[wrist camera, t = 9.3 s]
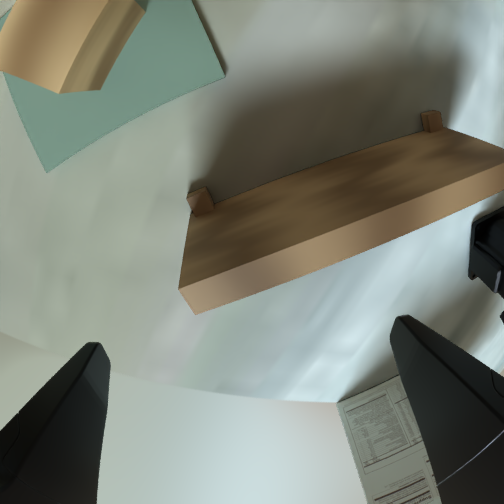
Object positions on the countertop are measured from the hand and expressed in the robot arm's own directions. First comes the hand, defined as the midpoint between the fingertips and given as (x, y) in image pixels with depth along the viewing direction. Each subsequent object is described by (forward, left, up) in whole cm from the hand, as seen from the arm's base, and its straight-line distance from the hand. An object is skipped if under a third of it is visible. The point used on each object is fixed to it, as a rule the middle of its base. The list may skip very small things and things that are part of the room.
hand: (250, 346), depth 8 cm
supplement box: (-8, +33, -12) cm, 36 cm away
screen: (-6, +1, -11) cm, 13 cm away
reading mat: (+4, -13, -11) cm, 18 cm away
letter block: (+3, -13, -11) cm, 17 cm away
